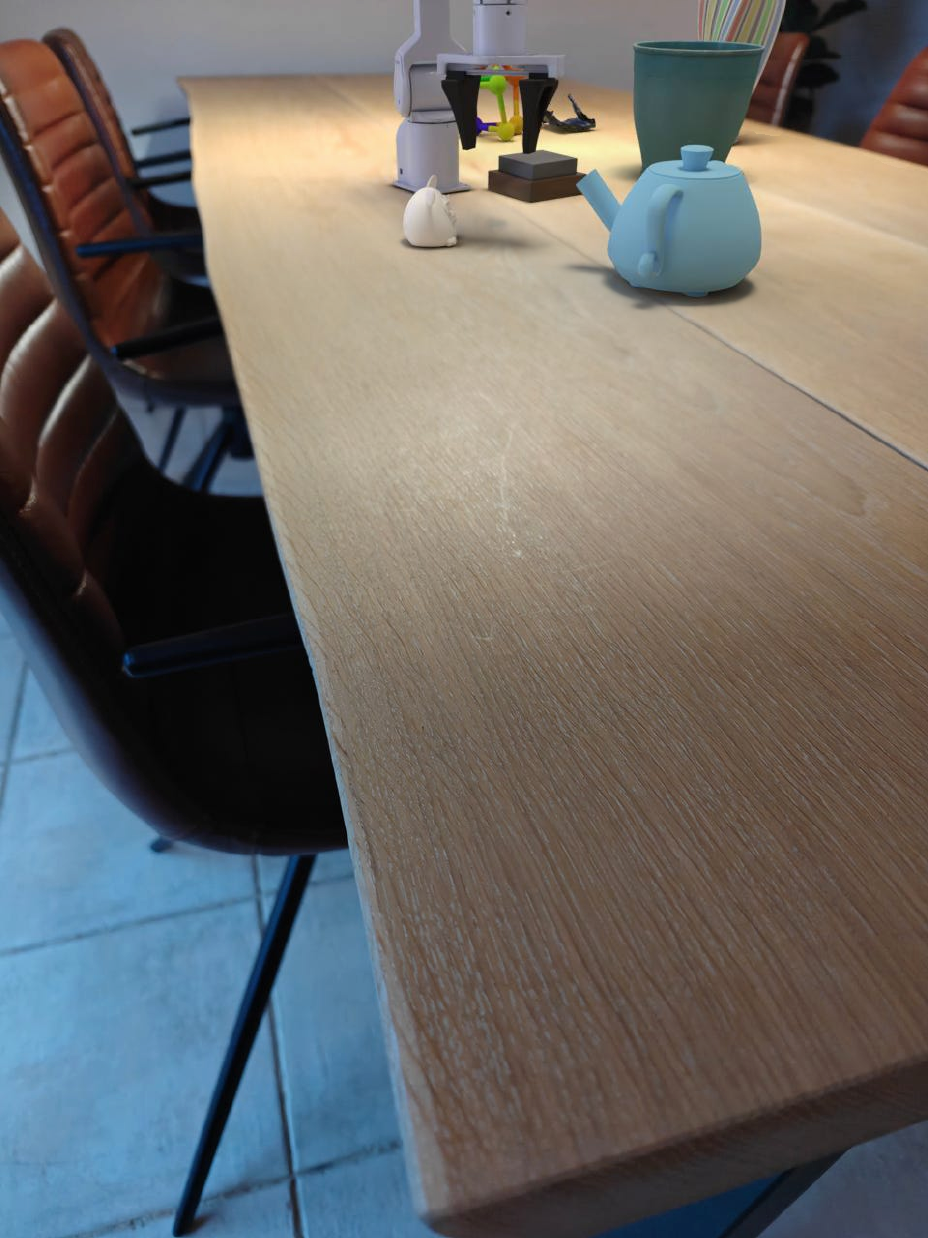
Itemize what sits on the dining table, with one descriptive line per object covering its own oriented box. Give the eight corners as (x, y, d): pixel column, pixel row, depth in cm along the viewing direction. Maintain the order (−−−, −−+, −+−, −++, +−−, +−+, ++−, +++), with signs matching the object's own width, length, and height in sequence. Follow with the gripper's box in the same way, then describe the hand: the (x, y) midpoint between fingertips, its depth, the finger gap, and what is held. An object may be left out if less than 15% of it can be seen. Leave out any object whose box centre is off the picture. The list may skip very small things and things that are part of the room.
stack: (487, 189, 127) (488, 154, 124) (542, 181, 132) (543, 147, 129) (530, 202, 120) (531, 166, 118) (585, 193, 125) (588, 158, 122)
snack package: (585, 123, 175) (527, 122, 174) (590, 87, 170) (531, 86, 169) (597, 145, 167) (537, 144, 165) (603, 108, 162) (541, 107, 161)
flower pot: (666, 160, 144) (681, 36, 133) (764, 176, 133) (789, 43, 123) (597, 177, 134) (607, 44, 123) (697, 195, 123) (718, 52, 113)
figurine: (457, 250, 102) (457, 188, 98) (402, 250, 102) (399, 188, 98) (457, 232, 108) (457, 173, 104) (405, 232, 108) (403, 173, 104)
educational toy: (458, 136, 169) (458, 42, 161) (525, 137, 168) (529, 43, 160) (448, 141, 156) (448, 40, 148) (521, 142, 155) (525, 40, 147)
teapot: (717, 320, 82) (743, 172, 75) (530, 287, 91) (536, 150, 83) (778, 268, 95) (805, 137, 88) (610, 243, 104) (621, 122, 96)
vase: (768, 140, 158) (807, -72, 140) (744, 152, 149) (782, -73, 131) (697, 133, 164) (725, -70, 146) (669, 144, 155) (696, -71, 137)
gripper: (420, 5, 92) (425, 151, 99) (547, 4, 86) (542, 159, 94) (453, 4, 97) (455, 143, 104) (575, 3, 91) (568, 150, 99)
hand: (498, 150), depth 99 cm, fingers open, 7 cm apart
